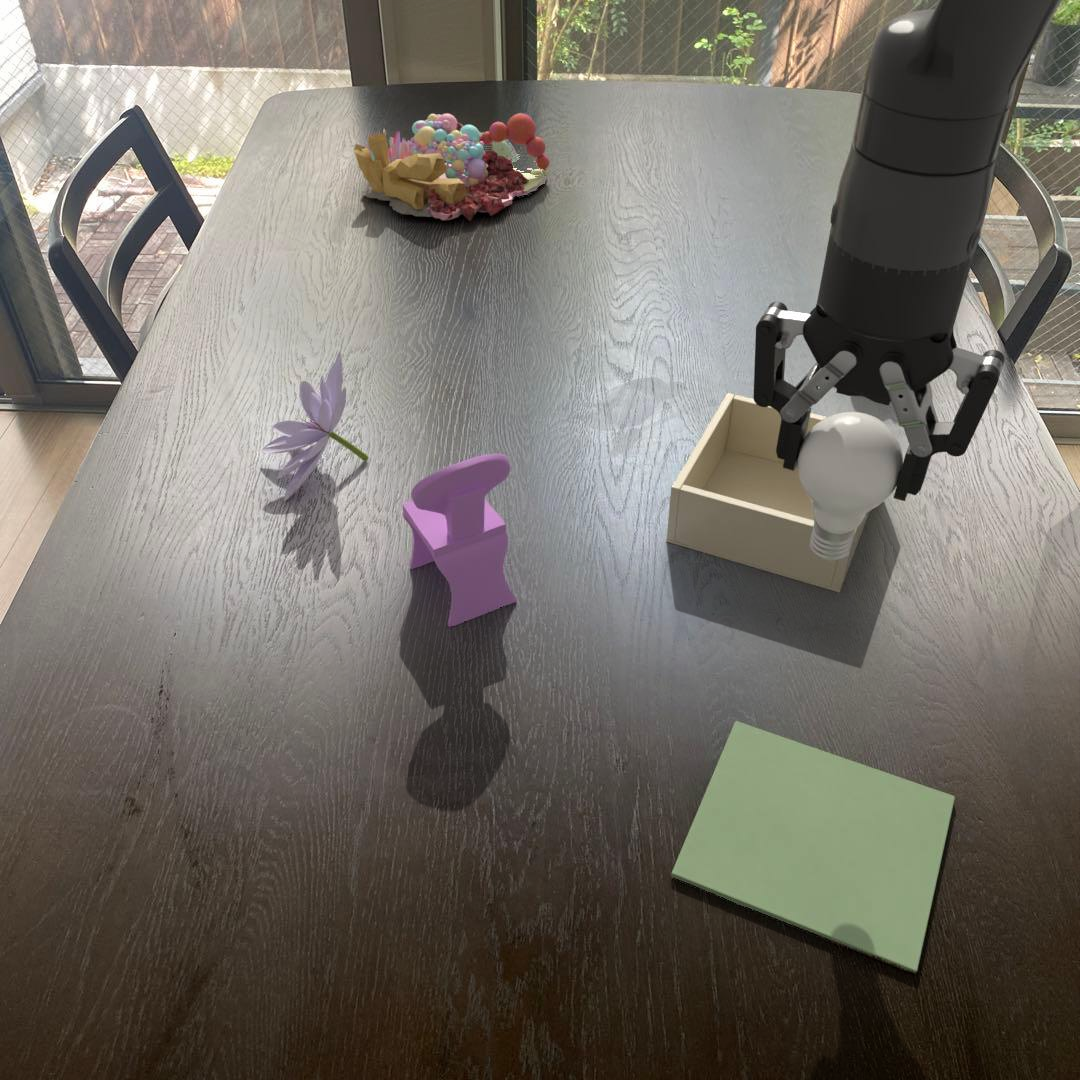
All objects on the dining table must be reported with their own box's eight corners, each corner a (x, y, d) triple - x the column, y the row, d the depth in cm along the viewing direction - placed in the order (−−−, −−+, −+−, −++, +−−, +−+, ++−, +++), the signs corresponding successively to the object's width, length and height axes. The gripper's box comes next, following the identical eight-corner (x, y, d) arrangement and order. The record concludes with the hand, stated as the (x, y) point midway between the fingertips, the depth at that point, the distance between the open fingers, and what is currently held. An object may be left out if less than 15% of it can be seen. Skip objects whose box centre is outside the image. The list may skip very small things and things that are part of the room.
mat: (953, 801, 76) (955, 796, 76) (915, 976, 67) (917, 971, 66) (734, 725, 81) (735, 720, 81) (670, 877, 72) (671, 873, 71)
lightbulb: (772, 574, 71) (797, 440, 64) (789, 515, 76) (815, 383, 69) (870, 596, 70) (907, 462, 62) (881, 535, 74) (918, 402, 67)
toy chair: (482, 536, 97) (473, 398, 87) (527, 597, 91) (524, 456, 81) (396, 567, 94) (377, 428, 84) (438, 632, 89) (422, 491, 78)
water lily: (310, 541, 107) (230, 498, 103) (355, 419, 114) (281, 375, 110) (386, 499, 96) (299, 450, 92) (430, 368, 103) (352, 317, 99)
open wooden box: (879, 486, 102) (893, 432, 98) (839, 592, 91) (853, 537, 87) (720, 445, 107) (727, 392, 103) (666, 541, 96) (670, 486, 92)
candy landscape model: (474, 240, 140) (470, 170, 134) (330, 201, 149) (320, 135, 142) (568, 169, 156) (568, 104, 149) (433, 138, 165) (428, 76, 158)
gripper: (1055, 228, 57) (973, 475, 69) (791, 179, 62) (754, 417, 73) (1036, 292, 52) (950, 547, 64) (751, 234, 57) (718, 480, 68)
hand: (845, 476), depth 68 cm, fingers closed on lightbulb, 6 cm apart
